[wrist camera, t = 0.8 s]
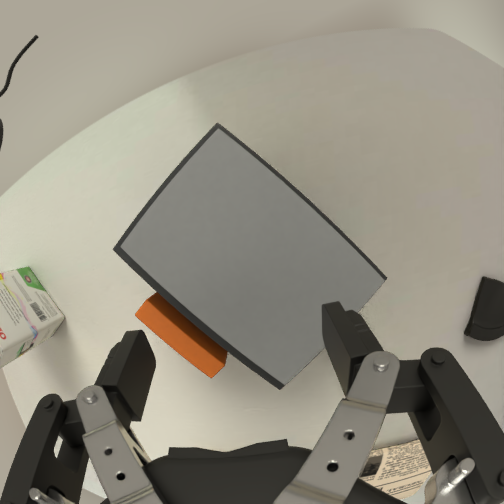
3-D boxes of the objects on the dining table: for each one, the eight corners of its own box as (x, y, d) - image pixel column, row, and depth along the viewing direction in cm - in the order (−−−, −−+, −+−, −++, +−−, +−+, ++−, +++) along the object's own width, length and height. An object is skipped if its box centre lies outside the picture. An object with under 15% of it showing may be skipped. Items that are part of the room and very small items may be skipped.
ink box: (16, 288, 28) (-45, 309, 16) (29, 264, 28) (-38, 280, 16) (51, 338, 28) (-7, 375, 17) (66, 316, 28) (2, 351, 16)
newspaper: (443, 427, 30) (451, 436, 27) (403, 495, 32) (408, 504, 29) (199, 450, 30) (196, 464, 27) (207, 514, 32) (205, 525, 29)
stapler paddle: (167, 283, 23) (146, 299, 18) (230, 337, 23) (225, 365, 18) (156, 297, 23) (134, 315, 18) (218, 350, 24) (211, 379, 19)
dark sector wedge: (507, 342, 29) (513, 345, 27) (460, 334, 28) (467, 338, 27) (524, 292, 28) (531, 294, 26) (481, 273, 27) (488, 275, 26)
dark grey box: (231, 160, 26) (213, 112, 14) (338, 257, 27) (398, 282, 15) (162, 241, 27) (97, 256, 15) (268, 333, 28) (277, 406, 16)
